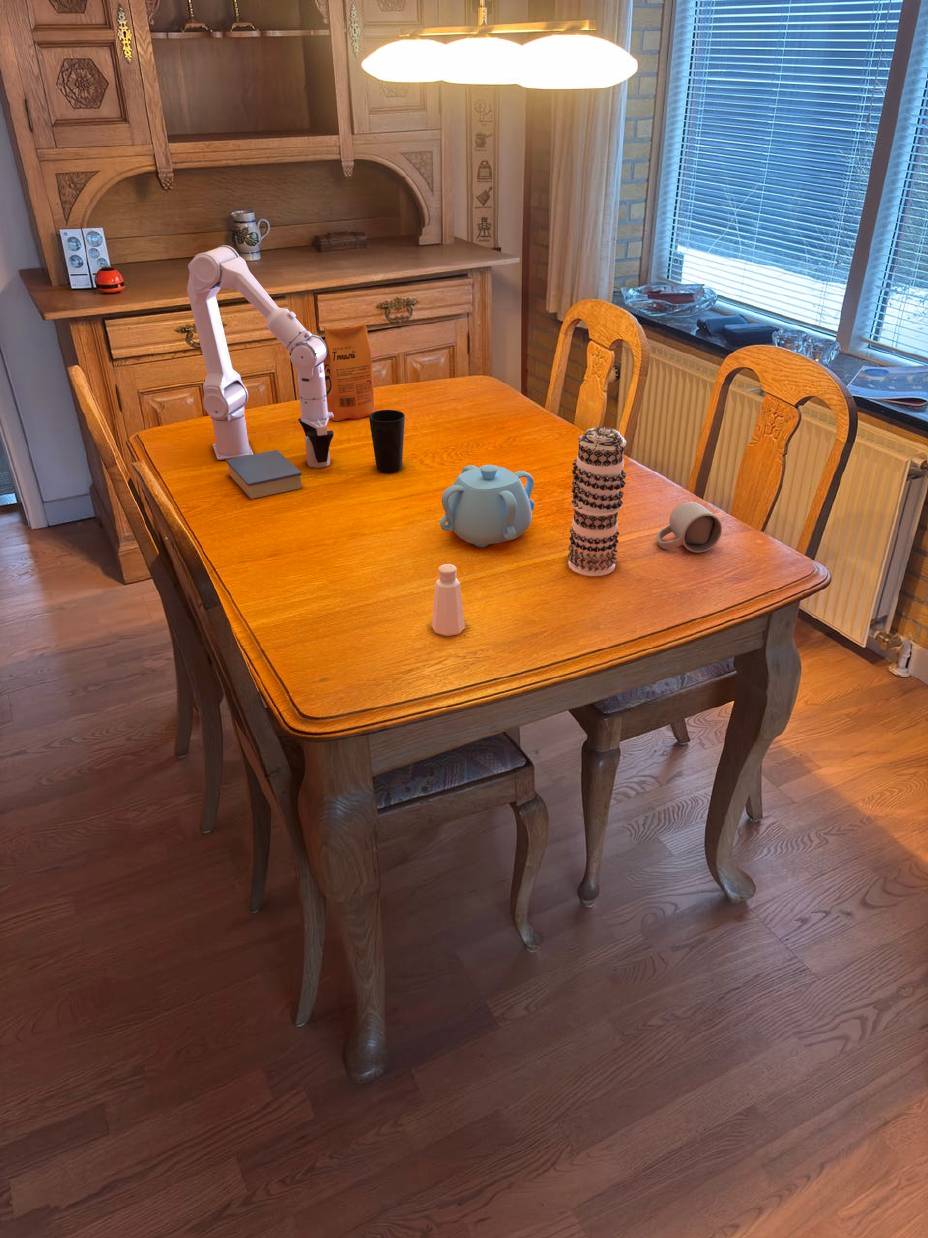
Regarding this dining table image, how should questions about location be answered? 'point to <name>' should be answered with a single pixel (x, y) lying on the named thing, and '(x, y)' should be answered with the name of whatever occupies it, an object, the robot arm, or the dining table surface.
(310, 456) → the white cylindrical tumbler
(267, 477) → the blue hardcover book
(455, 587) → the salt shaker
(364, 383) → the coffee package
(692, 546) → the ceramic mug
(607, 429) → the decorative candle
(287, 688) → the dining table surface
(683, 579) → the dining table surface
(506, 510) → the decorative pot
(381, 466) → the cup
